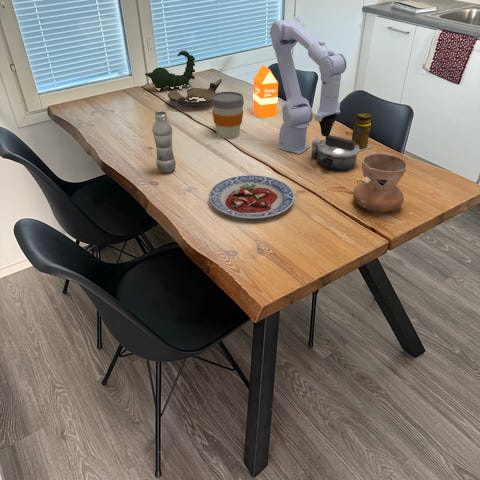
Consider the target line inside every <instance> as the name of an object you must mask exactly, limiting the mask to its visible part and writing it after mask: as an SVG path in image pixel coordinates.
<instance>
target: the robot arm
mask: <svg viewBox="0 0 480 480" xmlns="http://www.w3.org/2000/svg"><path fill="white" fill-rule="evenodd" d="M270 26H271V27H270V30H269V36H270V39H271V44H272V49H273V50H274V53H275V57H276V61H277V65H278V69H279V73H280V77H281V82H282V85H283V90H284V94H285V97H286V101H285V103H284V104H283V105H282V107H281V111H282V122H283V123H282V124H281V126H280V128H279V135H278V136H279V138H278V140H279V141H278V146H277V149H279V150H284V151H287V152H290V153H293V154H298V155H301V154H302V153H303V152H305V151H307V150H308V149H309V148H310V147H311V146H310V145H309V144H306V143H307V133H308V126H310V122H312V121H313V118H314V121H316V122H318V123H319V126H320V127H319V128H320V132H321V137H325V138H326V137H328V136H329V135H330V134H331V131H332V128H333V126H334V124H335V121H336V120H337V119H338V116H339V114H340V113H341V110H340V109H341V103H340V102H339V96H340V90H341V89H340V87H341V81H342V74H344V72H345V71H346V69H347V60H346V57H345V56H344V55H343V54H342V53H336V52H334V51H333V49H331V48H330V47H328V46H327V45H326V42H325V41H323V40H317V41H316V39H314V37H313V36H312V35H311V34H310V33H309V32H308V30H306V28H305V24H304V22H303V21H302V20H301V19H300V18H298V17H296V18H295V17H294V18H290V19H283V20H274V21H273V22H272V24H271V25H270ZM297 43H299V44H300V45H301V46H302V47H303V48H305V49H306V50H307V54H308V55H307V56H308V57H309V58H310V59H311V60H312V61H313V62H314V63H315V64H316V65H317V66H318V69H319V72H320V80H321V88H320V97H319V98H320V100H319V106H318V109H317V112H316V113H315V114H314V111H313V108H312V106H311V105H310V102H309V100H308V99H307V98H305V97H303V95H302V93H301V87H300V85H299V80H298V76H297V70H296V66H295V64H294V58H293V53H292V49H293V48H294V47H295V46H296V45H297Z"/></svg>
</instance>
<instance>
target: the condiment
mask: <svg viewBox="0 0 480 480" xmlns="http://www.w3.org/2000/svg"><path fill="white" fill-rule="evenodd" d="M371 120H372V115H371V114H369V113H366V112H360V113H357V114H356V116H355V121H354V123H353V129H352V134H351V135H352V136H351V140H352V141H356V143H357V144H358V145H359V152H360V151H364V150H367V149H370V148H373V146H372V145H370V144H368V143H369V139H370V138H369V137H370V132H371V131H370V130H371V127H372V123H371V122H372V121H371Z"/></svg>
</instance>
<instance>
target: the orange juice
mask: <svg viewBox="0 0 480 480" xmlns="http://www.w3.org/2000/svg"><path fill="white" fill-rule="evenodd" d="M252 94H253V99H252V101H253V103H252V105H253V107H252V108H253V109H252V111H254V112H255V113H256V114H257V115H258V116H259V117H260V118H264V119H267V118H266V117H271V118H275V117H274V116H278V115H277V114H278V102H279V101H278V100H279V99H278V98H279V97H278V96H279V82H278V80H277V79H276V76H274V74H273V73H272V71H271V69H270V68H269V67H266V66H265V65H264V64H261V66H260V68H259V69H258V70H257V73H256V74H255V76H254V78H253V93H252ZM255 113H254V114H255ZM256 114H255V115H256ZM257 115H256V116H257ZM258 116H257V117H258ZM259 117H258V118H259ZM260 118H259V119H260Z"/></svg>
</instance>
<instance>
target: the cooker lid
mask: <svg viewBox="0 0 480 480" xmlns="http://www.w3.org/2000/svg"><path fill="white" fill-rule="evenodd" d="M312 144H313V145H317V146H318V148H317V149H318V151H319V152H320V153H322V154H324V155H326V156H330V157H335V158H348V157H353V156H355V155H358V154H359V152H360V151H359V145H358V144H357V143H356V141H352V139H348V138H343V137H339V136H335V135H330V134H329V136H328V137H325V139H319V138H315V139H313V140H312V142H311V145H312Z"/></svg>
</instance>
